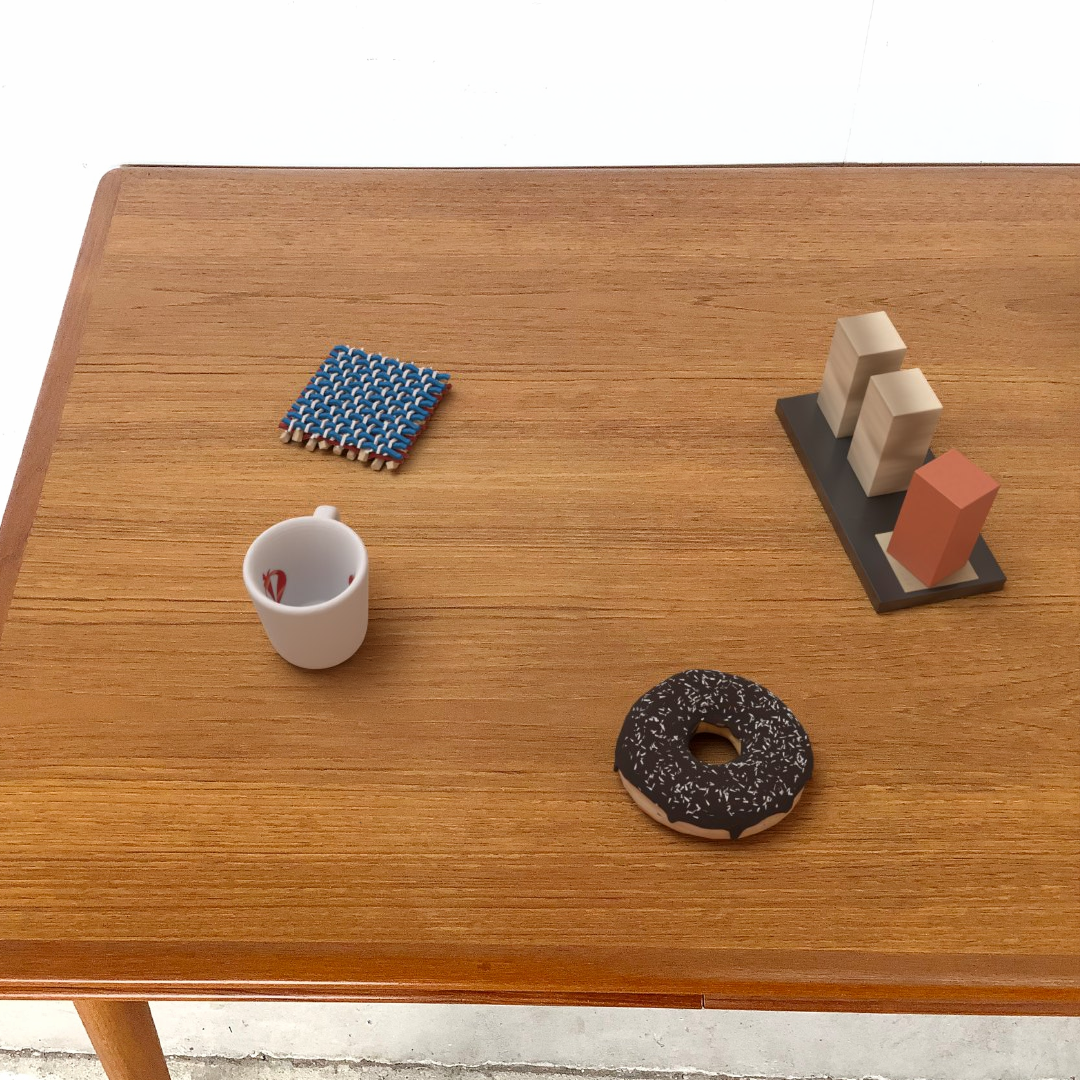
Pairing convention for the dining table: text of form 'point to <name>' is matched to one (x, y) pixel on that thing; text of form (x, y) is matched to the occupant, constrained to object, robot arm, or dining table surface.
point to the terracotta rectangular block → (942, 517)
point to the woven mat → (365, 406)
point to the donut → (704, 789)
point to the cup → (310, 588)
